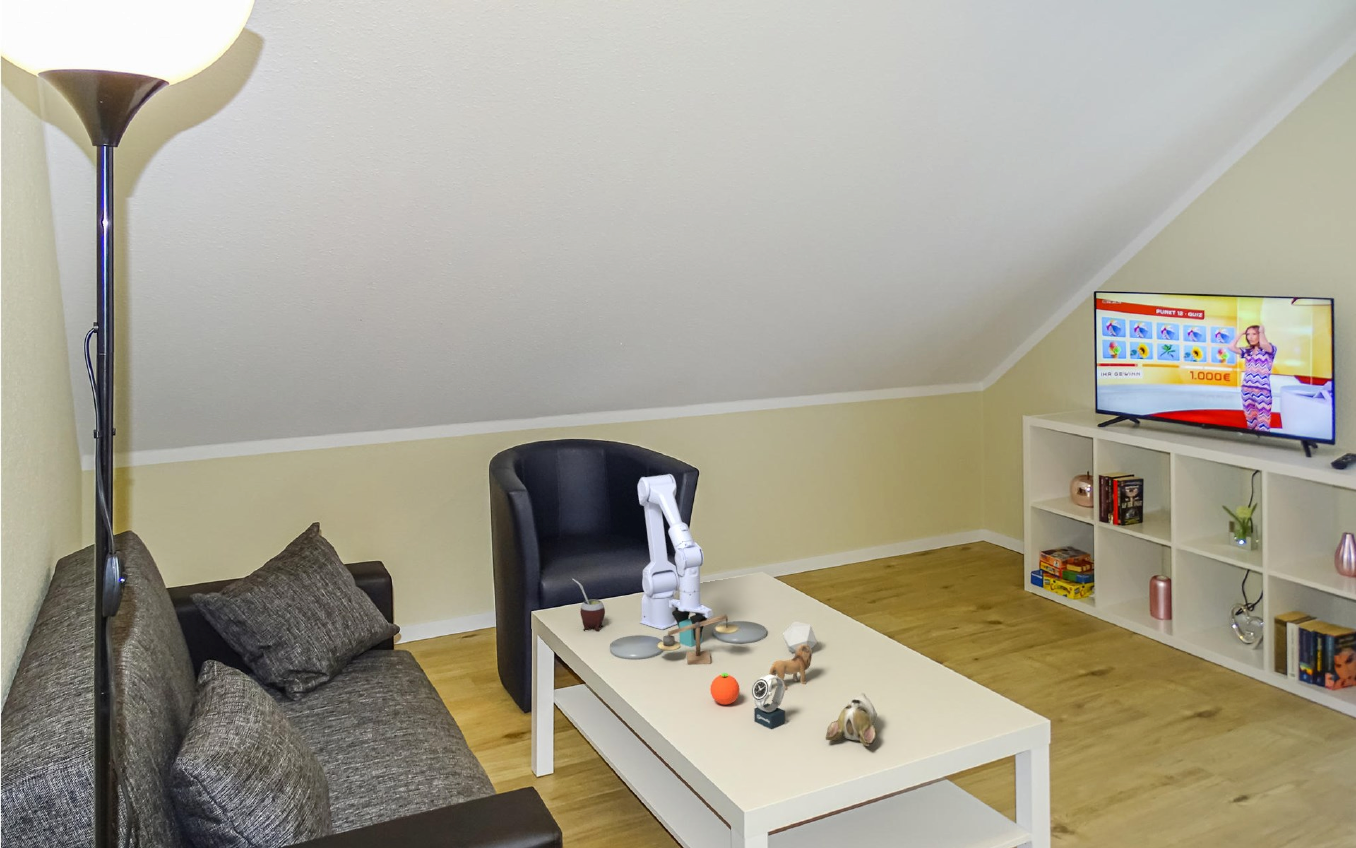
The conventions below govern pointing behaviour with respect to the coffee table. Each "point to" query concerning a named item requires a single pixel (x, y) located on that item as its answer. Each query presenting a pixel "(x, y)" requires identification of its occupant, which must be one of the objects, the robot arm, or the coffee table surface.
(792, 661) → the lion figurine
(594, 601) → the mate gourd
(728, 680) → the clementine
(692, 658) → the balance
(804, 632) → the die
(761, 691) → the watch
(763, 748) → the coffee table surface
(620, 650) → the dish low side
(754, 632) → the grey round disc
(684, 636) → the block
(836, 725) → the ceramic sculpture
